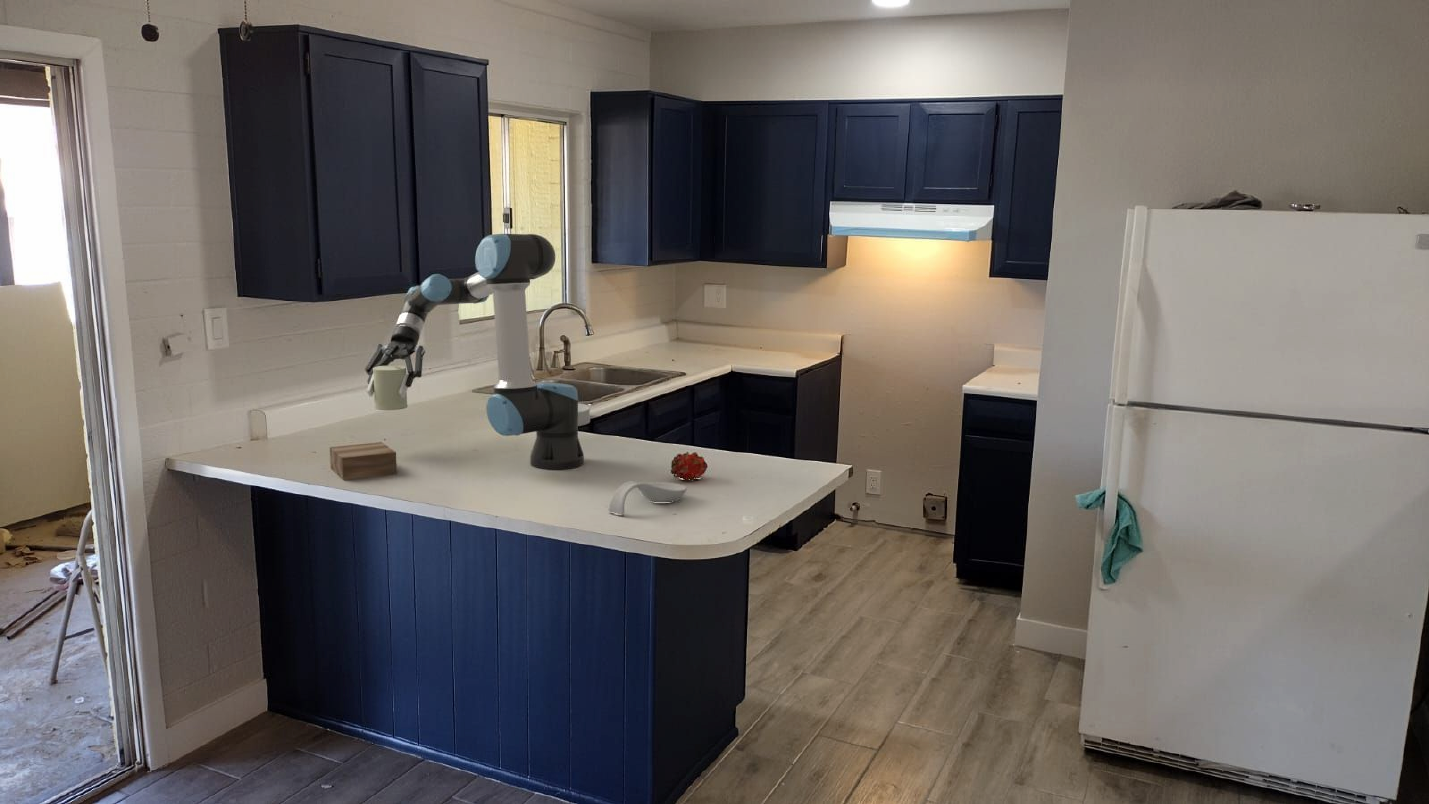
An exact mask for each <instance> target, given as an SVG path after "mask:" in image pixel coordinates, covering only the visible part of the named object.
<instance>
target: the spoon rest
mask: <svg viewBox="0 0 1429 804" xmlns="http://www.w3.org/2000/svg"><path fill="white" fill-rule="evenodd" d="M636 488H637V489H638V491H640V493H641V494H642V496H643V497H645V498H646V499H647V500H648V501H649V500H650V501H652V502H672V501H674V502H675V501H678V500H679V499H681V498H682V497H683V496H684V495H685V493H686V492H687V489H688V488H687V486H686V485H682V484H679V483H675V482H674V483H673V482H665V481H664V482H663V481H662V482H661V481H651V482H649V481H647V482H638V481H635V480H628V481H626V482H624V483H622V484H621V485H620V486H619V487H618V488H617V489H616V491H615V492H614V494H613V495H612V498H611V500H610V501H609V502H610V503H609V507H608V512H609V511H610V512H614V513H618V514H621V515H624V516H625V503H626V502H625V501H626V498H627V496H628V494H629V493H630V492H631V491H633V489H636ZM650 501H649V502H650ZM652 502H651V503H652ZM672 503H673V502H672Z"/></svg>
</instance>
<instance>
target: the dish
mask: <svg viewBox="0 0 1429 804" xmlns="http://www.w3.org/2000/svg"><path fill="white" fill-rule="evenodd" d="M590 410H591V408H590V406H589V405H588V404H584V403H579V402H578V427H582V426H585V425H588V424H590V423H591V413H590Z"/></svg>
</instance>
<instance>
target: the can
mask: <svg viewBox="0 0 1429 804" xmlns="http://www.w3.org/2000/svg"><path fill="white" fill-rule="evenodd" d="M405 374H407V366H406V365H405V366H404V365H393V364H392V365H391V364H390V365H389V364H388V365H387V366H377V367H374V368H373V376H374V393H373V399H374V400H373V401H374V403H373V405H374V406H373V408H374V409H375V410H378V411H398V410H404V409H407V408H408V407H409V405H408V396H407V395H408V394H407V392H406V395H405V398H402V397H401V396H400V394H399V390H400V387H401V384H402V381H403V378H404V376H405Z"/></svg>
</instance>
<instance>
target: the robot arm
mask: <svg viewBox="0 0 1429 804" xmlns="http://www.w3.org/2000/svg"><path fill="white" fill-rule="evenodd" d="M474 260H475V261H474V262H475V269H476V271H477V272H475V273H474V274H472V275H469V276H468V277H464V278H448V277H446V276H444V275H442V274H439V273H435V274H431V275H430V276H429V277H427V278H425V280H423V282H422V283H420V285H416V286H411V287H410V288H409V289H408V291H407V293H406V295H405V297H404V300H403V304H402V307H401V310H400V312H399V314H398V315H399V316H398V317H397V320H396V323H395V325H394V329H393V332H392V334H391V337H390V342H389V343H388V344H386V345H383V344H382V343H379V344H378V345H377V348H376V351H375V353H374V354H373V355H372V357H371V359H370V360H369V362H368V364H367V365H366V366H365V368H364V370H365V372H366V374H367V375H368V379H367V384H368V385H367V388H366V392H367V394H368V396H369V397H374V376H373V368H374V367H377V366H388V365H389V364H391V363H392V362H394V361H395V360H404V362H405V367H406V371H407V373H406V374H405V376H404V378H403V381H402V384H401V387H400V390H399V394H400V396H401V397H402V398H405V395H406V392H407V391H408V389H409V388H411V387H412V384H413V382H414V379H415V378H422V373H423V359H424V356H425V353H426V350H425V349H424V346H423V345H418V343H419V341H420V336H421V334H422V331H423V328H424V325H425V322H426V320H427V317H428V315H429V313H431V312H432V311H433V310H434V309H435V308H436V307H437V306H444V305H457V304H458V305H461V304H464V305H465V304H479V303H484V302H486V301H487V300H488V298H489V296H491V295H492V298H493V299H492V301H493V312H494V313H493V314H494V326H495V327H494V328H495V342H496V343H495V344H496V356H497V357H496V358H497V369H498V381H497V383H495V385H494V386H493V394H492V395H491V396H490V397H488V399H487V402H486V406H485V407H486V408H485V410H486V416H487V417H486V418H487V419H488V422H489V424H490V425H491V427H492V428H493V430H495V432H496V433H498V434H499V435H501V436H505V437H510V436H520V435H524V434H529V433H534V432H536V437H535V441H534V445H533V446H532V451H531V453H530V459H529V460H530V462H529V463H530V466H532V467H535V468H538V469H545V470H565V469H566V468H568V469H574V468H578V467H580V466H583V464H585V455H584V451H583V449H582V445H581V443H580V439H579V436H578V435H579V428H578V427H579V426H578V403H579V398H578V389H577V388H576V386H574V385H571V384H566V383H561V382H560V383H559V382H548V381H545V382H544V381H539V382H535V381H534V380H533V379H532V374H531V359H530V345H529V330H528V329H529V328H528V313H527V311H528V310H527V300H526V299H527V298H526V297H527V296H526V290H527V289H528V287H529V286H530V285H531V280H536V279H538V278H542V277H543V276H545V275H547V274H548V273H550V272H551V271H552V269H553V268H554V266H555V262H556V250H555V249H554V246H553V244H552V243H551V242H550V241H549V240H548V239H547V238H545V237H544V236H542V235H539V234H536V233H535V234H534V233H533V234H532V233H527V234H525V233H524V234H523V233H521V234H520V233H497V234H489V235H487V236H485V237H483V238H482V240H481V241H480V243H479V245H478V246H477V248H476V252H475V258H474ZM414 353H415V363H414V367H413V364H412V359H411V356H412V355H413V354H414ZM566 470H567V469H566Z"/></svg>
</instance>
